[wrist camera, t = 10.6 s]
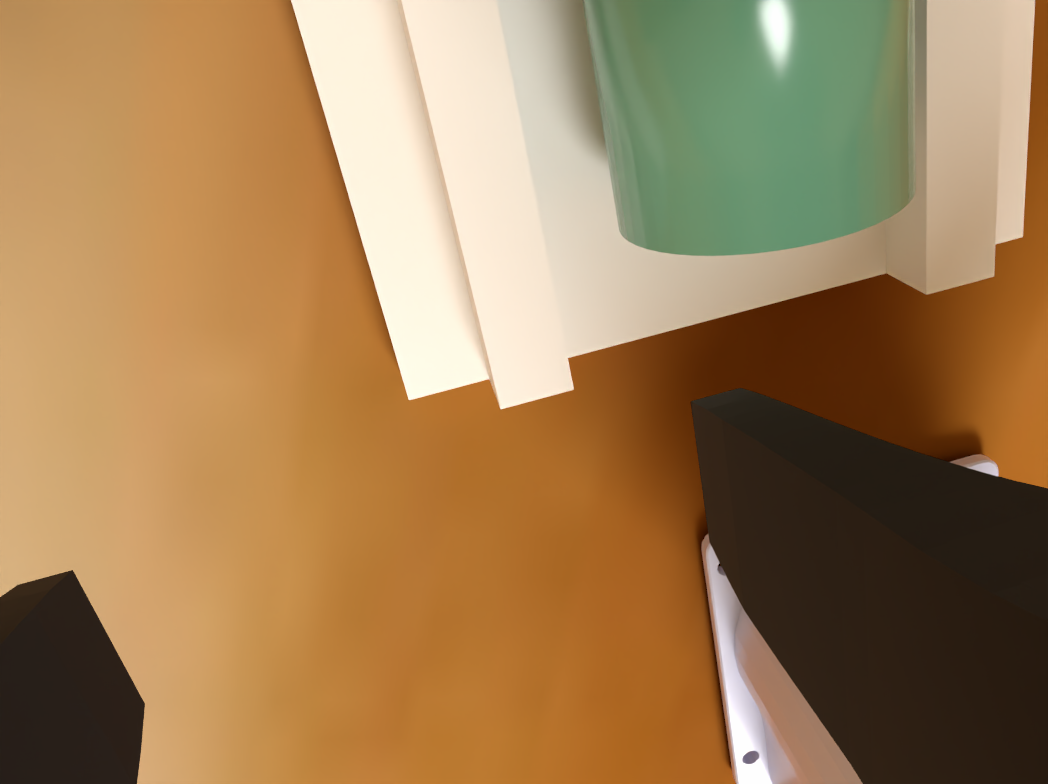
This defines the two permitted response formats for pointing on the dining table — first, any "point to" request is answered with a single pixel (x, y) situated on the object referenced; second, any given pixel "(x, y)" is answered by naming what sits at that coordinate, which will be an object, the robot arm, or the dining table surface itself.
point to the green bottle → (754, 119)
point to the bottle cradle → (586, 190)
